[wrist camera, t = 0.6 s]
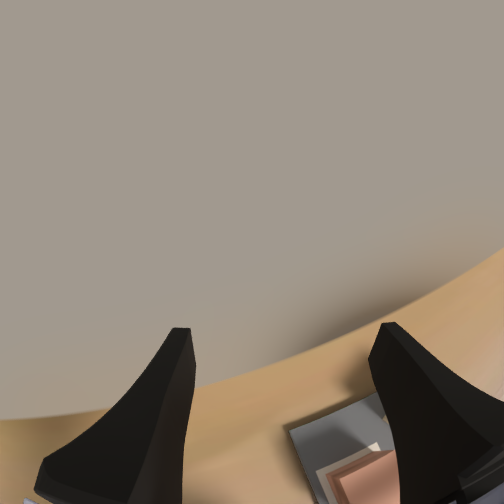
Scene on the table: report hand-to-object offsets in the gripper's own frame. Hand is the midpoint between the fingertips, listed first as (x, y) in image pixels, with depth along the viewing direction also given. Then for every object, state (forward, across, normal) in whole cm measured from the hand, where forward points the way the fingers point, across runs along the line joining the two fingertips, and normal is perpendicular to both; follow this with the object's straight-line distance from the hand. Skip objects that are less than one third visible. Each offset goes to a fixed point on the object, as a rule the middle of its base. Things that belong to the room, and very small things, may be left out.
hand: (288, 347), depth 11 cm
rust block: (-1, -9, +19) cm, 21 cm away
